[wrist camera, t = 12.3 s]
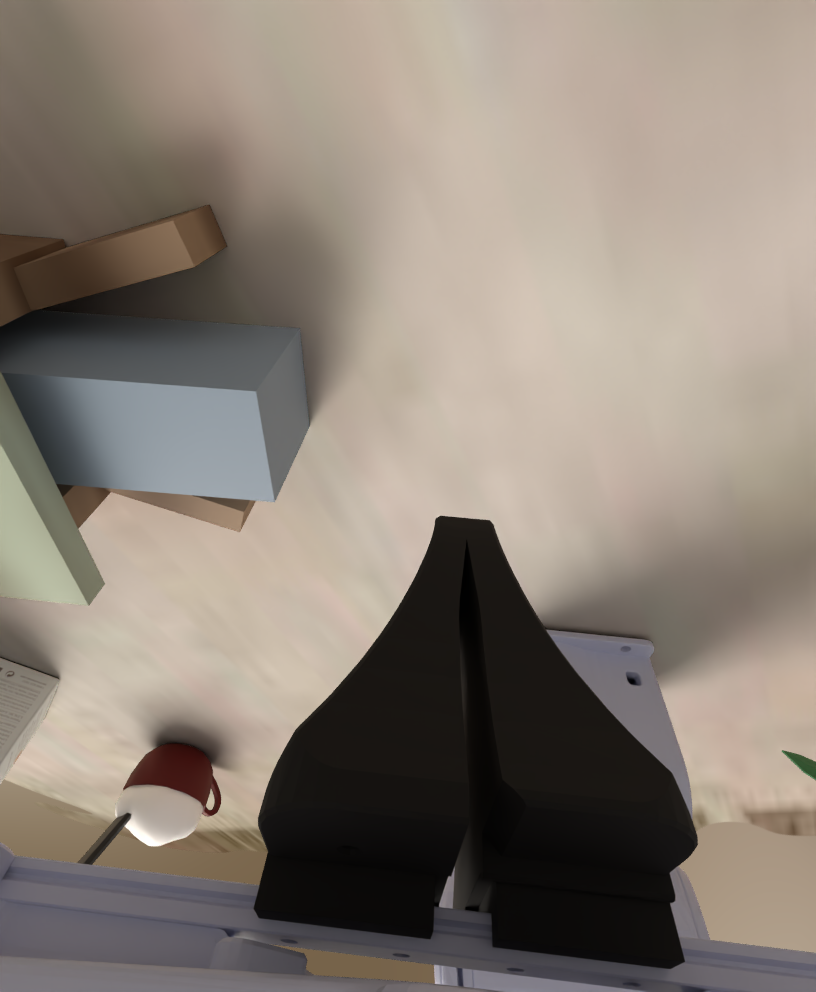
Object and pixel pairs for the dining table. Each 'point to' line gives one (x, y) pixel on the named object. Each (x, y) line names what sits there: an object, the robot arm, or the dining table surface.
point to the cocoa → (162, 798)
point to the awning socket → (8, 441)
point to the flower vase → (803, 763)
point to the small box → (21, 709)
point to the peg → (159, 401)
